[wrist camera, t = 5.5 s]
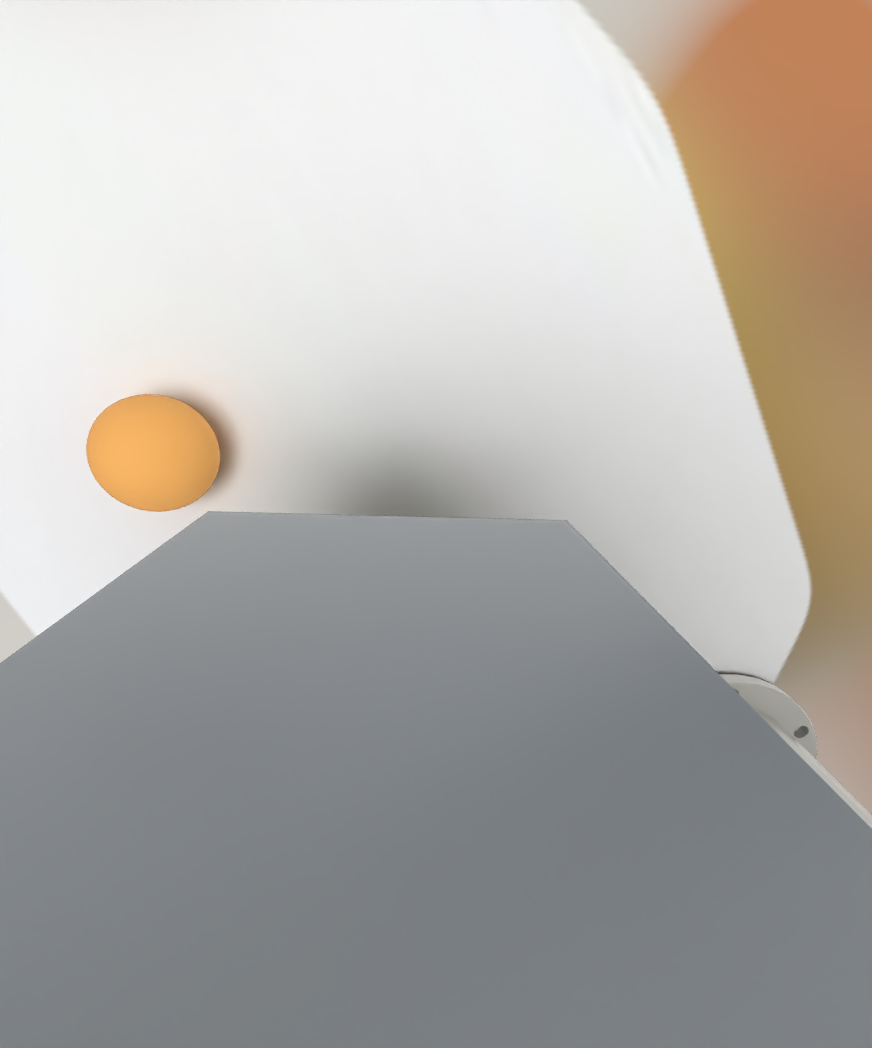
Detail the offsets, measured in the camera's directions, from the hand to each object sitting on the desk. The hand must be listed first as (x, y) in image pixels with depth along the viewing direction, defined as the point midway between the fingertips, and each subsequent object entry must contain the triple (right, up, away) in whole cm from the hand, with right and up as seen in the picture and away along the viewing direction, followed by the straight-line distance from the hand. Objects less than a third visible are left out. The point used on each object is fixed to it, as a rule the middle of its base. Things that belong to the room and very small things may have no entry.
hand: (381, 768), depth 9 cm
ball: (-11, +7, +12) cm, 18 cm away
